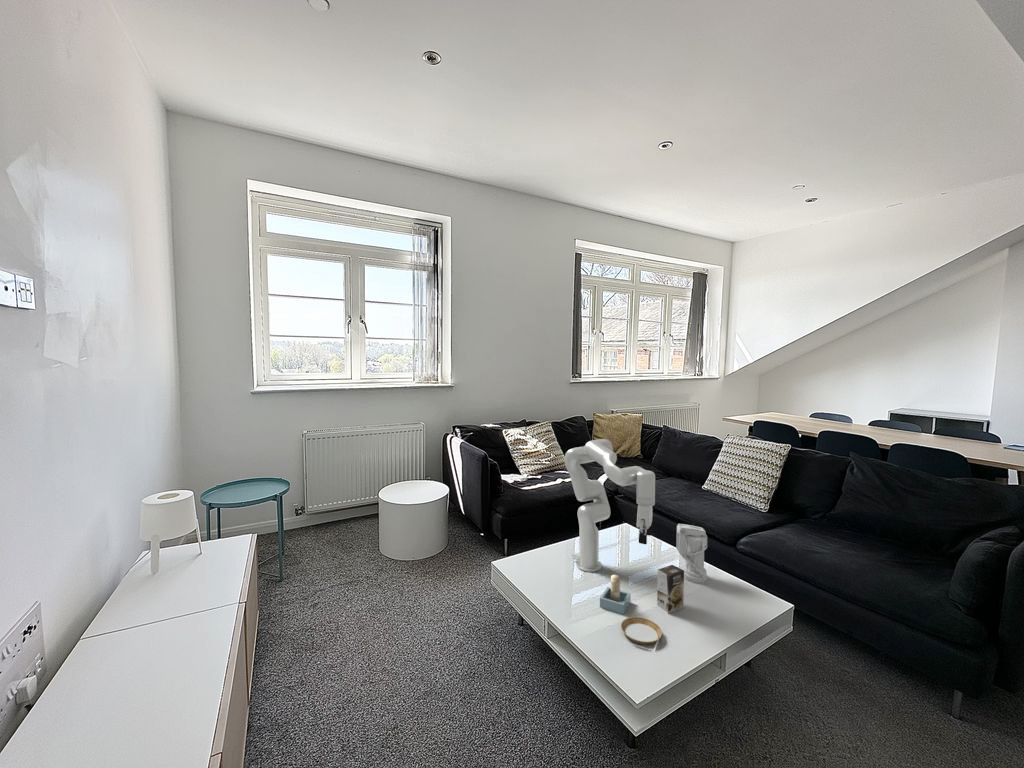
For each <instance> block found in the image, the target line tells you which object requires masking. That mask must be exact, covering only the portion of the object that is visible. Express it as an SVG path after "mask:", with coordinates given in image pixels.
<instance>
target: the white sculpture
mask: <svg viewBox="0 0 1024 768" xmlns="http://www.w3.org/2000/svg"><path fill="white" fill-rule="evenodd" d="M706 533H707V532H706V530H705V529H704V528H703V527H701V526H695V525H692V524H691V525H690V524H685V523H677V525H676V550H677V551H678V553H679V555H680V557H682V558H683V559H684V560H685V565H684V567H683V569H682V570H684V580H686V581H688V582H691V583H693V584H703V583H705V582H706V580H708V576H707V573H708V572H707V569H706V568H705V551H706V550H707V549H708V535H707V534H706Z"/></svg>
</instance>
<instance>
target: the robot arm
mask: <svg viewBox="0 0 1024 768" xmlns="http://www.w3.org/2000/svg"><path fill="white" fill-rule="evenodd" d="M613 448H614V447H613V443H612V442H611V441H609V440H608V439H606V438H599V439H593V440H589V441H587V442H586V443H585V445H583V446H579V447H577V446H576V447H573V448H570V449H568V450H567V451H566V452H565V454H564V465H565V467H566V468H565V469H566V470H567V472H568V475H569V478H570V480H571V484H572V489H573V492H574V495H575V497H576V500H577V501H578V502H588V501H593V502H589V503H585V504H582V505H580V506H579V507H578V509H577V519H578V525H579V526H578V527H579V533H578V534H579V553H575V552H574V553H572V555H571V556H572V560H576V564H575V565H576V567H577V568H578V569H579V570H581V571H583V572H588V573H589V572H590V573H593V572H598V571H600V570H601V569H602V568H603V564H602V562H601V561H600V559H599V552H600V551H599V550H600V549H599V547H600V545H599V544H600V542H599V540H600V539H599V538H600V535H599V534H600V533H599V528H598V527H597V526H596V524H597V523H598V522H603V521H605V520H608V519H609V518H610V516H611V507H610V503H609V500H608V496H607V493H606V489H605V487H604V485H603V483H602V482H601V481H599V480H598V479H591V480H589V478H588V473H587V471H586V470H585V469H584V467H583V466H582V464H588V463H594V462H596V463H598V464H599V465H600V466H601V467H603V472H604V473H605V475H606V477H607V478H608V479H609V480H610V481H612V482H613V483H614V484H616V485H618V486H621V487H626V486H631V485H636V491H635V492H636V495H635V496H636V500H635V501H636V502H635V503H636V504H637V513H636V528H639V529H638V543H639V544H640V545H647V544H648V536H649V537H651V536H652V523H653V506H655V505H656V474H655V472H653V471H652V470H648V469H644V468H643V467H642V466H639V465H638V466H637V465H633V466H627V467H622V468H621V467H618V466H617V465H616V462H617V460H618V457H617V454H616V452H614V449H613Z"/></svg>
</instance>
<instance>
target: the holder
mask: <svg viewBox="0 0 1024 768" xmlns="http://www.w3.org/2000/svg"><path fill="white" fill-rule="evenodd" d="M631 597H632V594H631V592H627V591H624V590H620V603H619V602H616V601H613V600H611V586H610V587H609V586H607V587H606V588H605V590H604V592H603V593H602V594H601V596H600V598H599V608H601V609H604V610H608V611H610V612H613V613H616V614H617V613H618V614H620V615H624V614H625V613H626V611H627V610H628V608H629V606H630V604H631Z"/></svg>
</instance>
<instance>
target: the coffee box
mask: <svg viewBox="0 0 1024 768" xmlns="http://www.w3.org/2000/svg"><path fill="white" fill-rule="evenodd" d="M656 590H657V593H656V594H657V596H656V597H657V599H656V606H657V607H659V608H661V609H662V610H664V611H665V612H666V613H667V614H671V613H674V612H677V611H679V610H681V609H684V600H685V599H684V595H685V578H684V570H683V569H682V568H680V567H679V566H676V565H674V564H671V565H667V566H664V567H661V568H658V569H657V586H656Z"/></svg>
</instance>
